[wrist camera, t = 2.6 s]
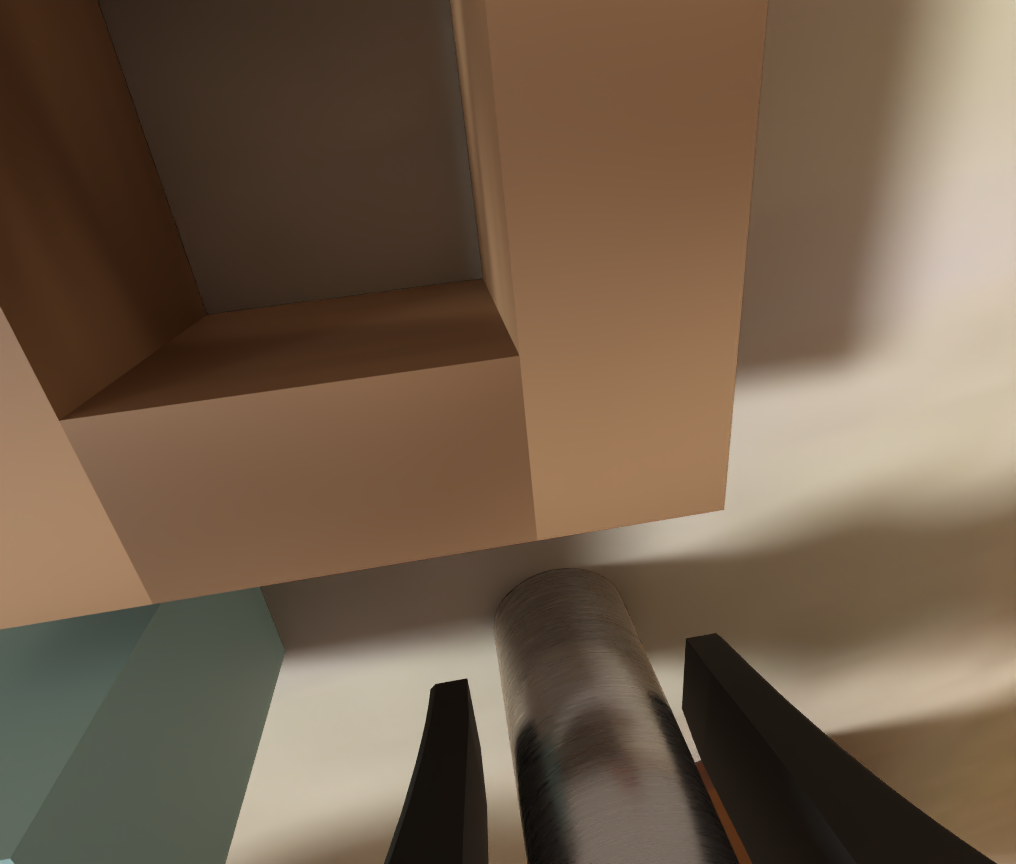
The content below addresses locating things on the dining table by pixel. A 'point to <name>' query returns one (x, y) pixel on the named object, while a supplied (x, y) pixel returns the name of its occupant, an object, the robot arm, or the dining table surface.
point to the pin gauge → (596, 733)
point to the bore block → (375, 322)
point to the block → (133, 730)
